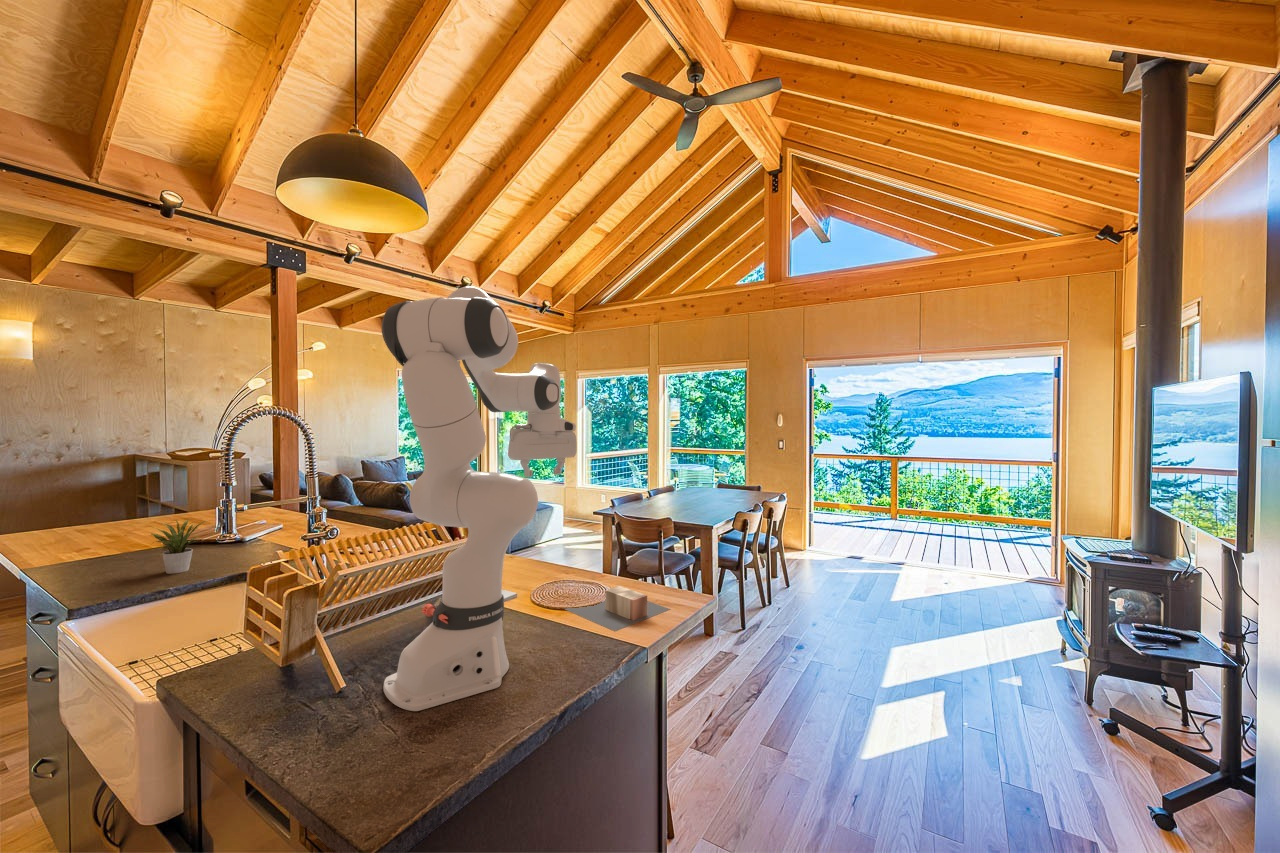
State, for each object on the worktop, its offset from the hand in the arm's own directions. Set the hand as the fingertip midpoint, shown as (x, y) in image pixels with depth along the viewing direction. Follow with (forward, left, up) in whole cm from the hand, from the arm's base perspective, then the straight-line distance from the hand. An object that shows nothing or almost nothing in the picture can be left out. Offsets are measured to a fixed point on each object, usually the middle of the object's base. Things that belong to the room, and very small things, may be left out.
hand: (543, 475), depth 138 cm
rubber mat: (+10, -19, -34) cm, 40 cm away
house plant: (-65, +99, -34) cm, 123 cm away
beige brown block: (+10, -17, -31) cm, 37 cm away
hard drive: (-10, +10, -35) cm, 38 cm away
